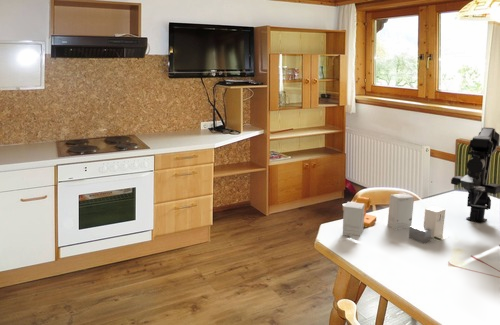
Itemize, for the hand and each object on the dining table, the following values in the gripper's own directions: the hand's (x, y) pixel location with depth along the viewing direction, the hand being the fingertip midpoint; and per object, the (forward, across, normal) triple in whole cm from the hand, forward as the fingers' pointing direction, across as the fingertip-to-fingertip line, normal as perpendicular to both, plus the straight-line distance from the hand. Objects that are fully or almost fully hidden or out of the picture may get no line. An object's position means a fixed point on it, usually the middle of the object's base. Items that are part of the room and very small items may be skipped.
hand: (473, 204), depth 184 cm
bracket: (+12, -31, -30) cm, 45 cm away
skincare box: (+12, -19, -22) cm, 31 cm away
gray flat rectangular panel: (+12, -5, -20) cm, 24 cm away
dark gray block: (+11, -5, -28) cm, 30 cm away
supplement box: (+12, -26, -43) cm, 52 cm away
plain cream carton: (+11, -4, -21) cm, 24 cm away
